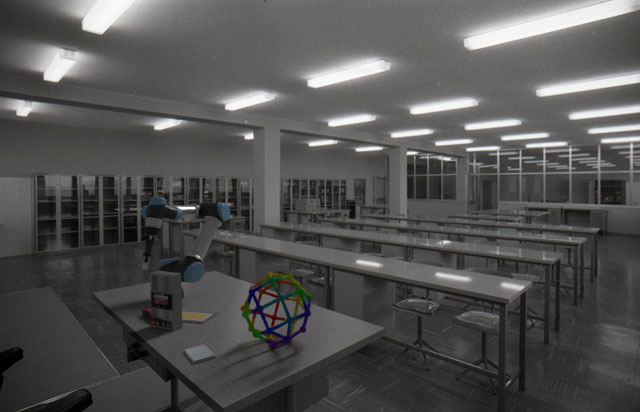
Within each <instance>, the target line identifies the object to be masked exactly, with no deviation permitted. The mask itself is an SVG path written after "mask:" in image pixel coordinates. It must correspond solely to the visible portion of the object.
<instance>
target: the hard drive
mask: <svg viewBox="0 0 640 412" xmlns="http://www.w3.org/2000/svg"><path fill="white" fill-rule="evenodd" d="M183 353H184V354H185V355H186V356H187V358H188V359H189V360H190V361H191V363H192V364H194V365H195V364H199V363H203V362H207V361H210V360H213V359H216V358H217V357H216V356H217V355H215V353H214V352H213V351H211V349H209V348H208V346H206V344H200V345H197V346H193V347H189V348H185V349H184V350H183Z"/></svg>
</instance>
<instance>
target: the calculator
mask: <svg viewBox="0 0 640 412" xmlns="http://www.w3.org/2000/svg"><path fill="white" fill-rule="evenodd" d="M141 312H142V313H141V314H142V317H143V318H145V319H147V320H149V321H150V322H151V307H147V308H144V309H143V310H141Z"/></svg>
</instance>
